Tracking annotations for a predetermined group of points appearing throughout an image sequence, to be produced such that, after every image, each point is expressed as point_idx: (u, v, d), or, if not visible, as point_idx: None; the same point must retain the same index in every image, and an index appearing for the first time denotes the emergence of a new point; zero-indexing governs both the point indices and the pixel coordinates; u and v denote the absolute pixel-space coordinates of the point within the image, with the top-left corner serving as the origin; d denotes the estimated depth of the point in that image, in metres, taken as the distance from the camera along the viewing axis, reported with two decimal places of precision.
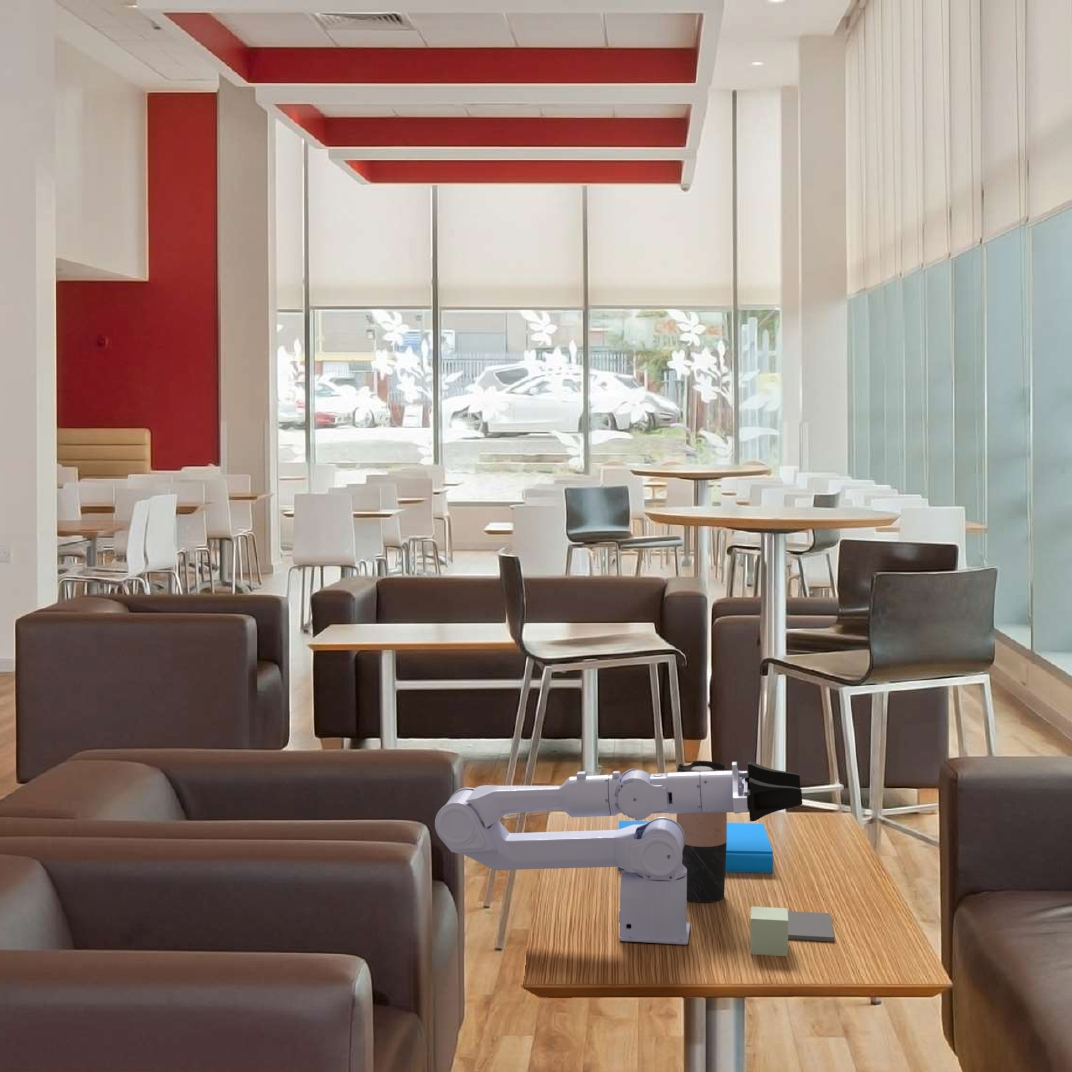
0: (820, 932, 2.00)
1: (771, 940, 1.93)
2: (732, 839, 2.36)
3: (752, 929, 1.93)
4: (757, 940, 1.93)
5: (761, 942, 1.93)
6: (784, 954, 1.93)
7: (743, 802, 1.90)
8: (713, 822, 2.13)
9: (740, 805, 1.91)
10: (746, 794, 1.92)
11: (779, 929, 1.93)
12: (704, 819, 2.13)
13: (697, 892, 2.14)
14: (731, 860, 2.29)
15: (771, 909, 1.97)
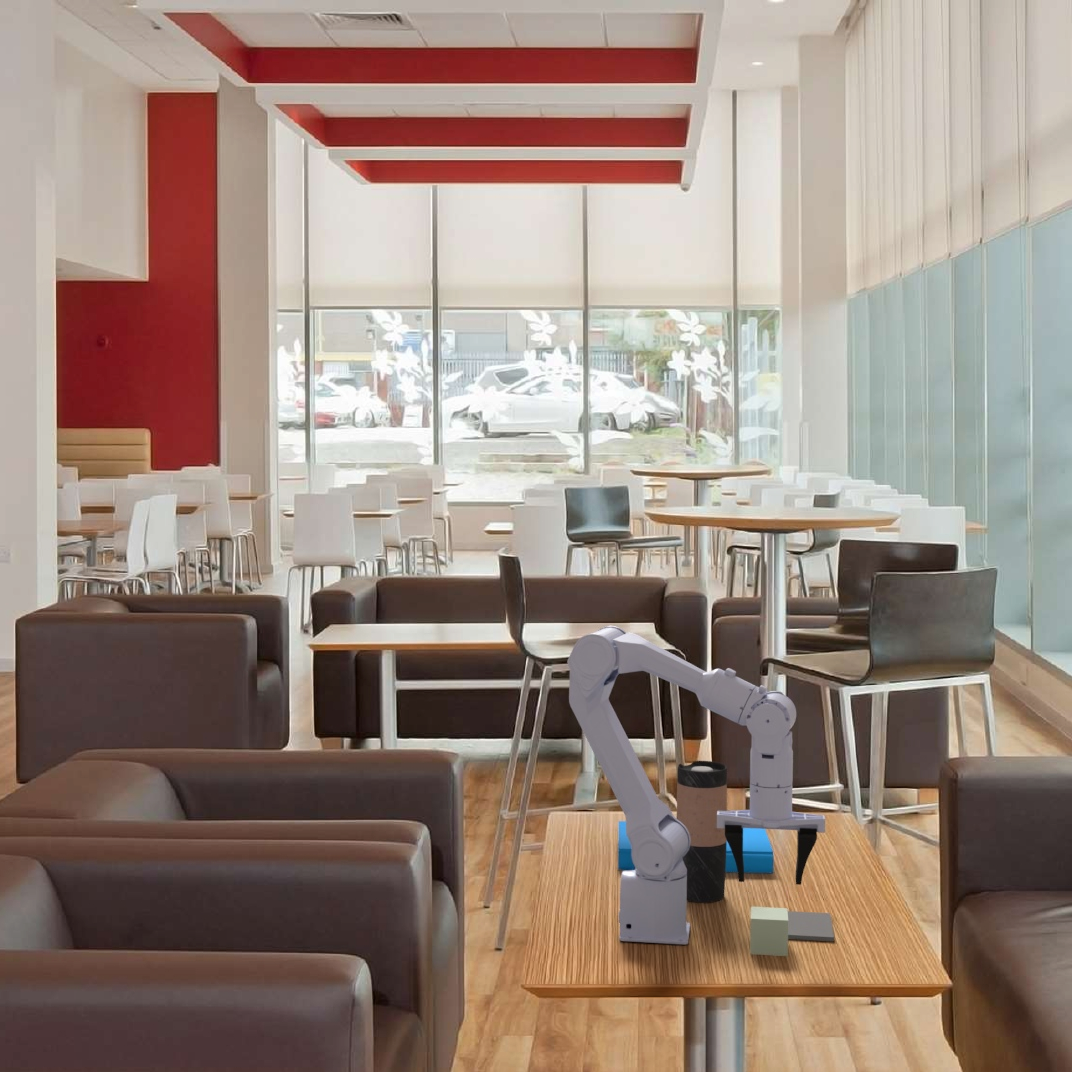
0: (820, 932, 2.00)
1: (771, 940, 1.93)
2: None
3: (752, 929, 1.93)
4: (757, 940, 1.93)
5: (761, 942, 1.93)
6: (784, 954, 1.93)
7: None
8: (713, 822, 2.13)
9: None
10: (732, 828, 1.94)
11: (779, 929, 1.93)
12: (704, 819, 2.13)
13: (697, 892, 2.14)
14: (731, 860, 2.29)
15: (771, 909, 1.97)
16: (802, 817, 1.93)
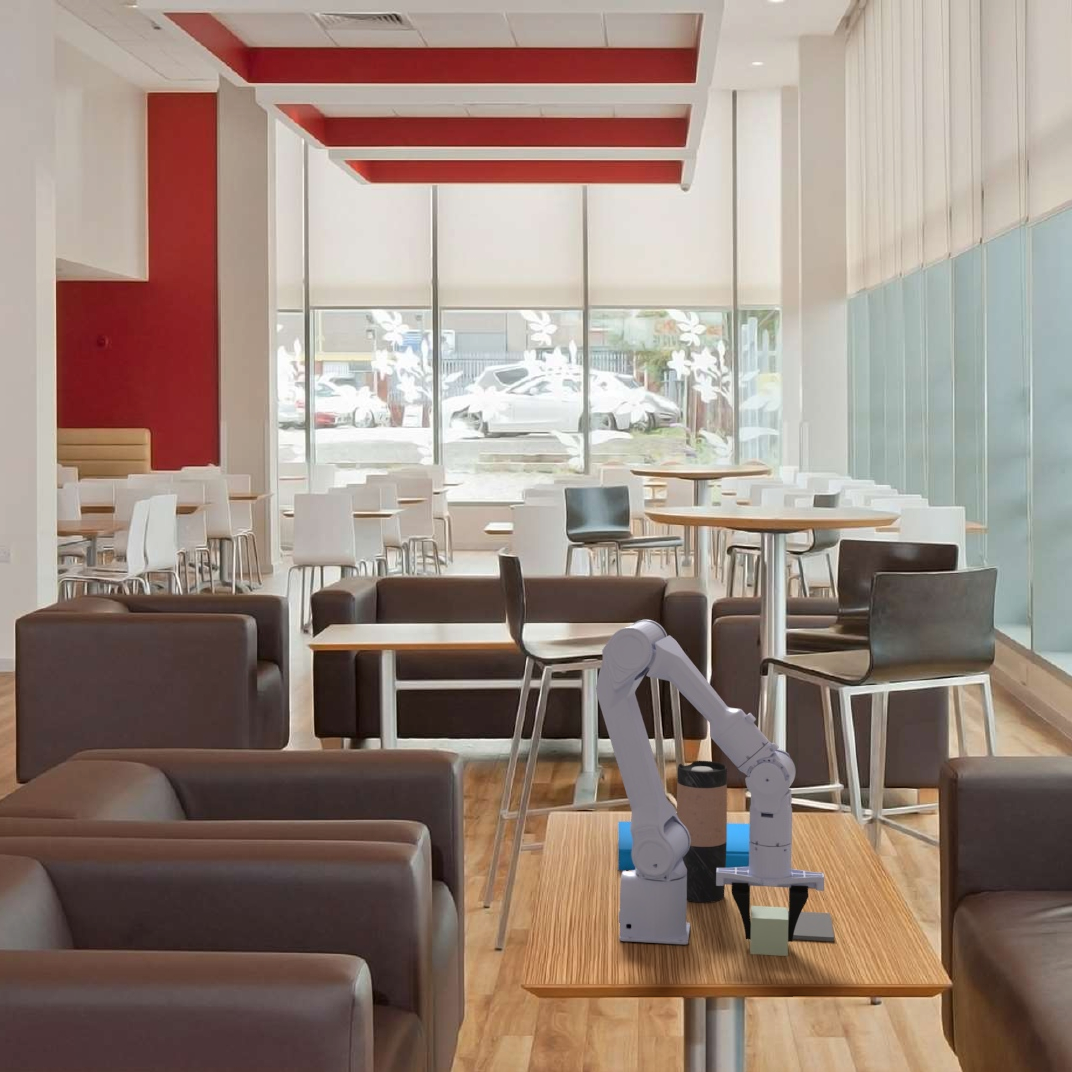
0: (820, 932, 2.00)
1: (772, 939, 1.93)
2: (732, 840, 2.35)
3: (752, 928, 1.93)
4: (757, 940, 1.93)
5: (761, 941, 1.93)
6: (784, 953, 1.93)
7: (716, 880, 1.96)
8: (713, 822, 2.13)
9: None
10: (732, 885, 1.95)
11: (779, 928, 1.93)
12: (704, 819, 2.13)
13: (697, 892, 2.14)
14: (731, 861, 2.29)
15: (771, 908, 1.97)
16: (801, 875, 1.94)
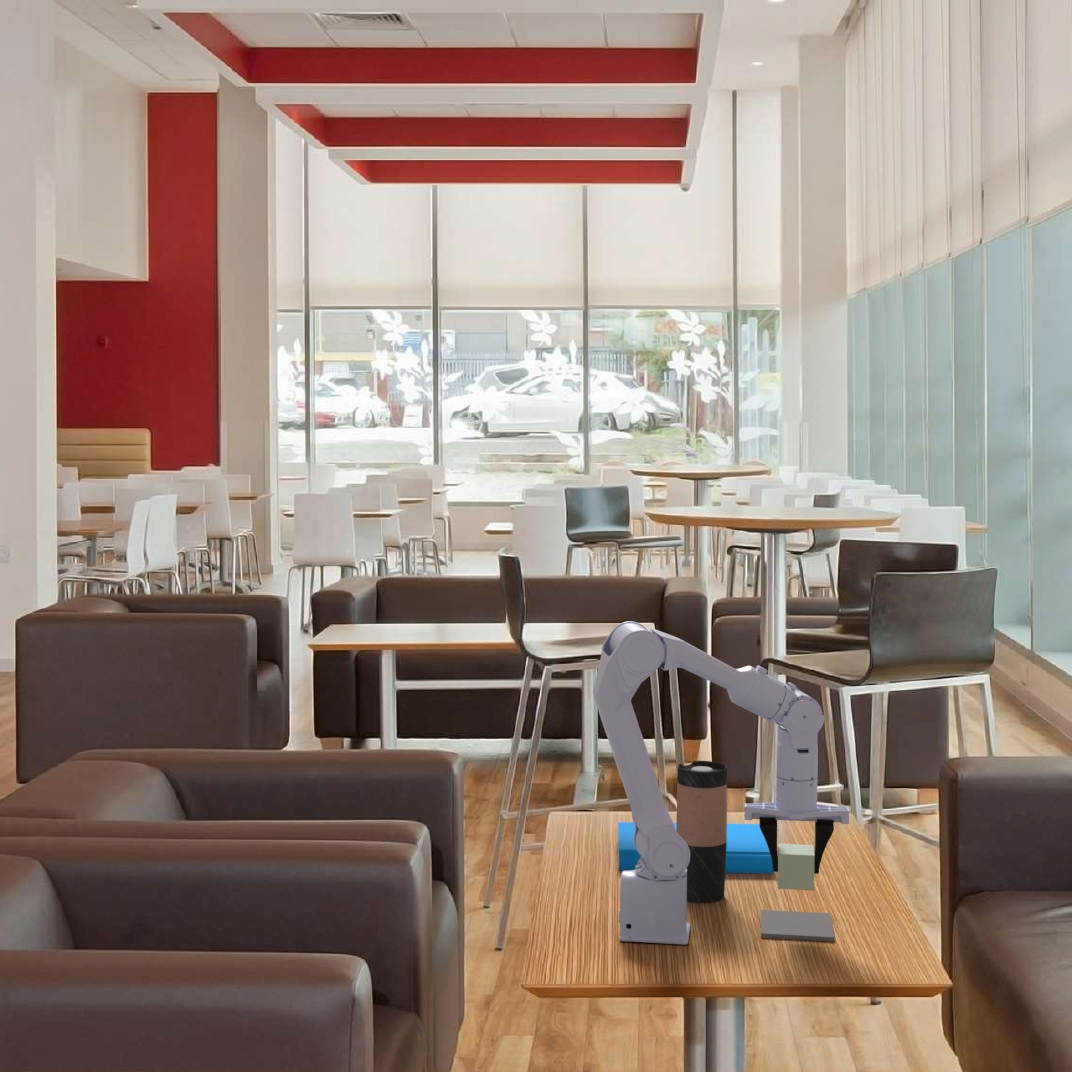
0: (820, 932, 2.00)
1: (798, 874, 2.00)
2: (732, 840, 2.35)
3: (779, 864, 2.00)
4: (784, 875, 2.00)
5: (788, 877, 2.00)
6: (810, 888, 2.00)
7: None
8: (713, 822, 2.13)
9: None
10: (760, 819, 2.02)
11: (806, 863, 1.99)
12: (704, 819, 2.13)
13: (697, 892, 2.14)
14: (731, 861, 2.29)
15: (798, 846, 2.04)
16: (827, 809, 2.01)
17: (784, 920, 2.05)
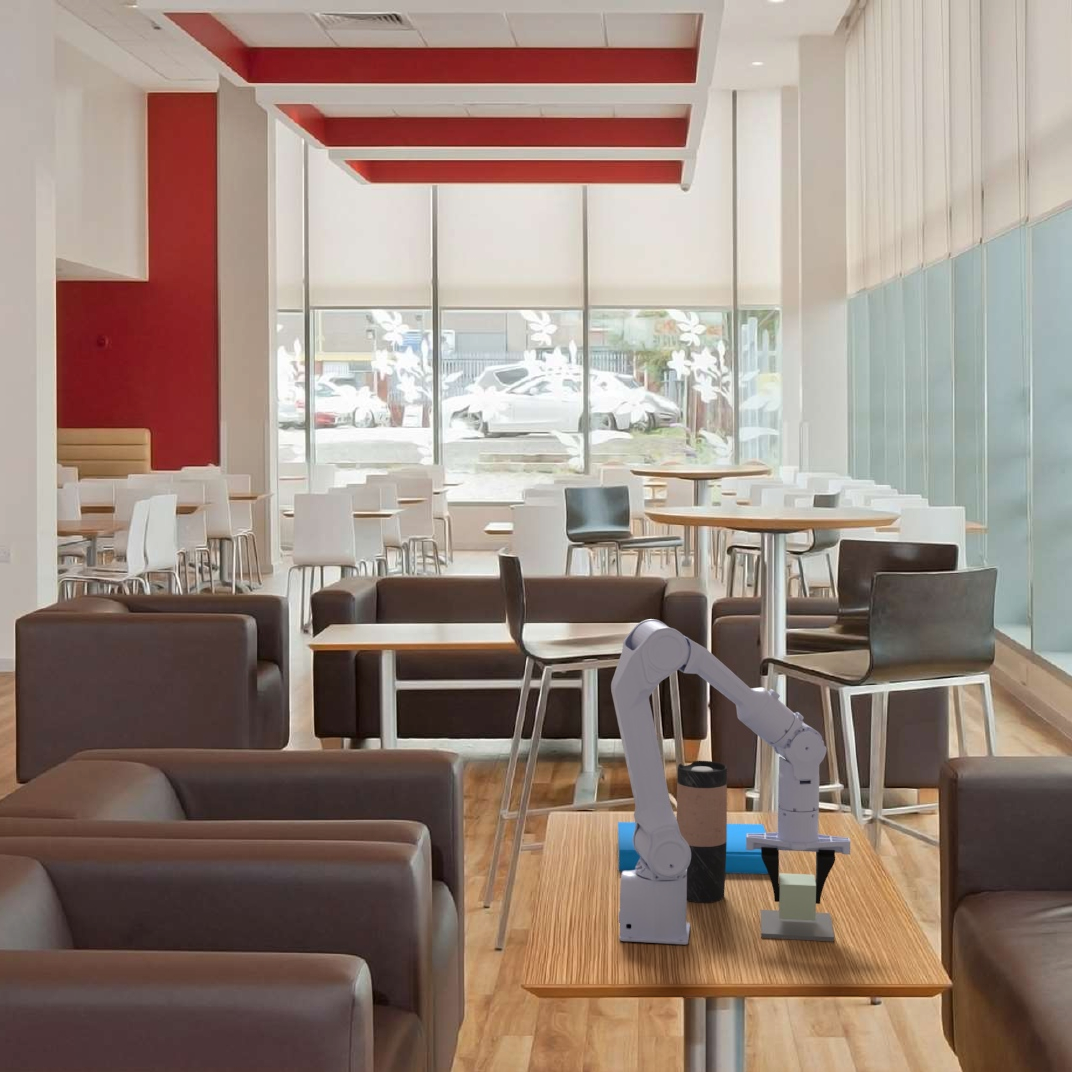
0: (820, 932, 2.00)
1: (800, 904, 2.01)
2: (732, 840, 2.35)
3: (781, 894, 2.01)
4: (786, 905, 2.01)
5: (790, 907, 2.01)
6: (812, 918, 2.01)
7: (746, 845, 2.04)
8: (713, 822, 2.13)
9: None
10: (761, 850, 2.03)
11: (807, 894, 2.01)
12: (704, 819, 2.13)
13: (697, 892, 2.14)
14: (732, 861, 2.28)
15: (799, 875, 2.05)
16: (828, 839, 2.02)
17: (784, 920, 2.05)
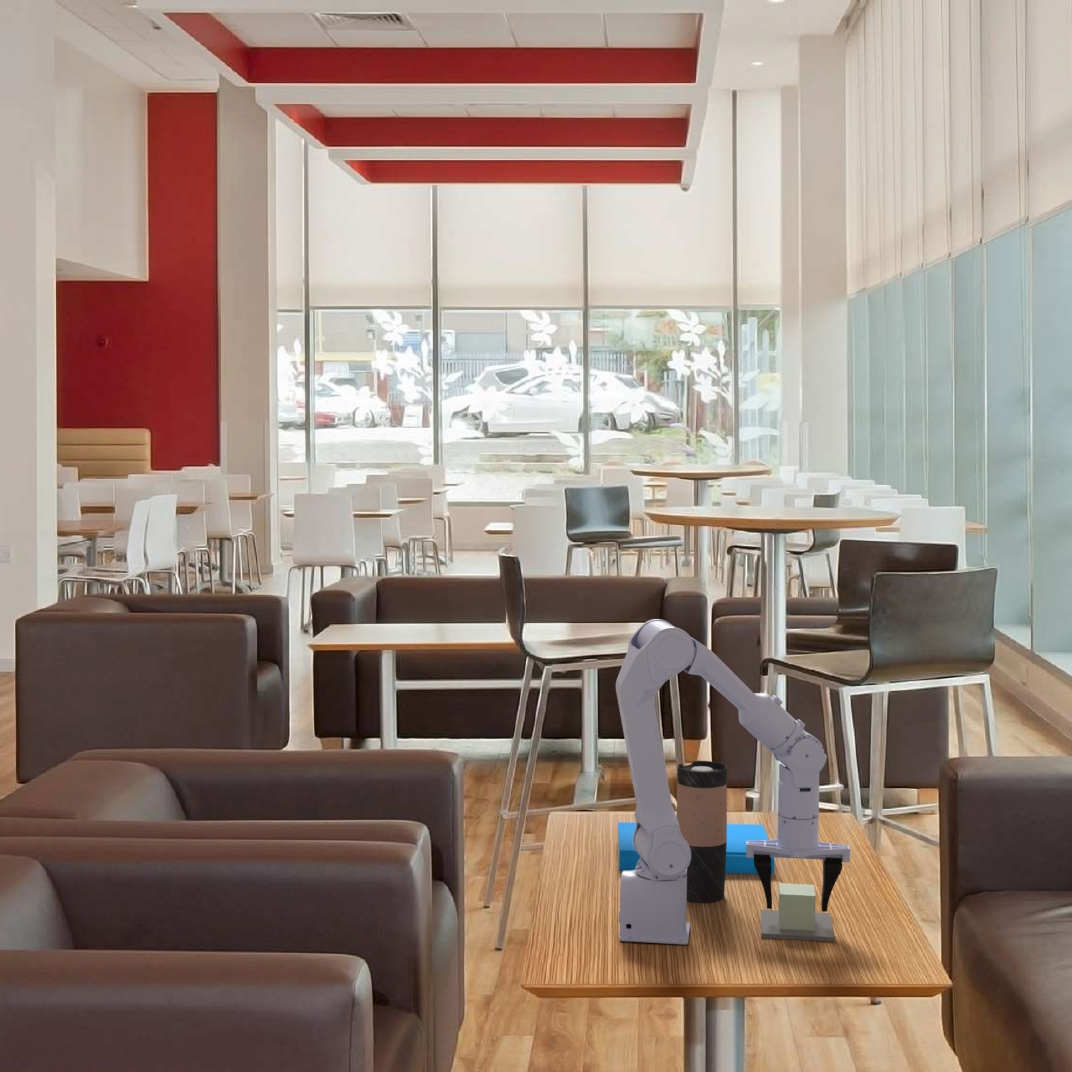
0: (820, 932, 2.00)
1: (799, 915, 2.01)
2: (733, 840, 2.35)
3: (781, 904, 2.01)
4: (786, 915, 2.01)
5: (789, 917, 2.01)
6: (811, 928, 2.01)
7: None
8: (713, 822, 2.13)
9: None
10: (761, 857, 2.03)
11: (807, 904, 2.01)
12: (704, 819, 2.13)
13: (697, 892, 2.14)
14: (732, 861, 2.28)
15: (798, 885, 2.05)
16: (828, 847, 2.02)
17: None
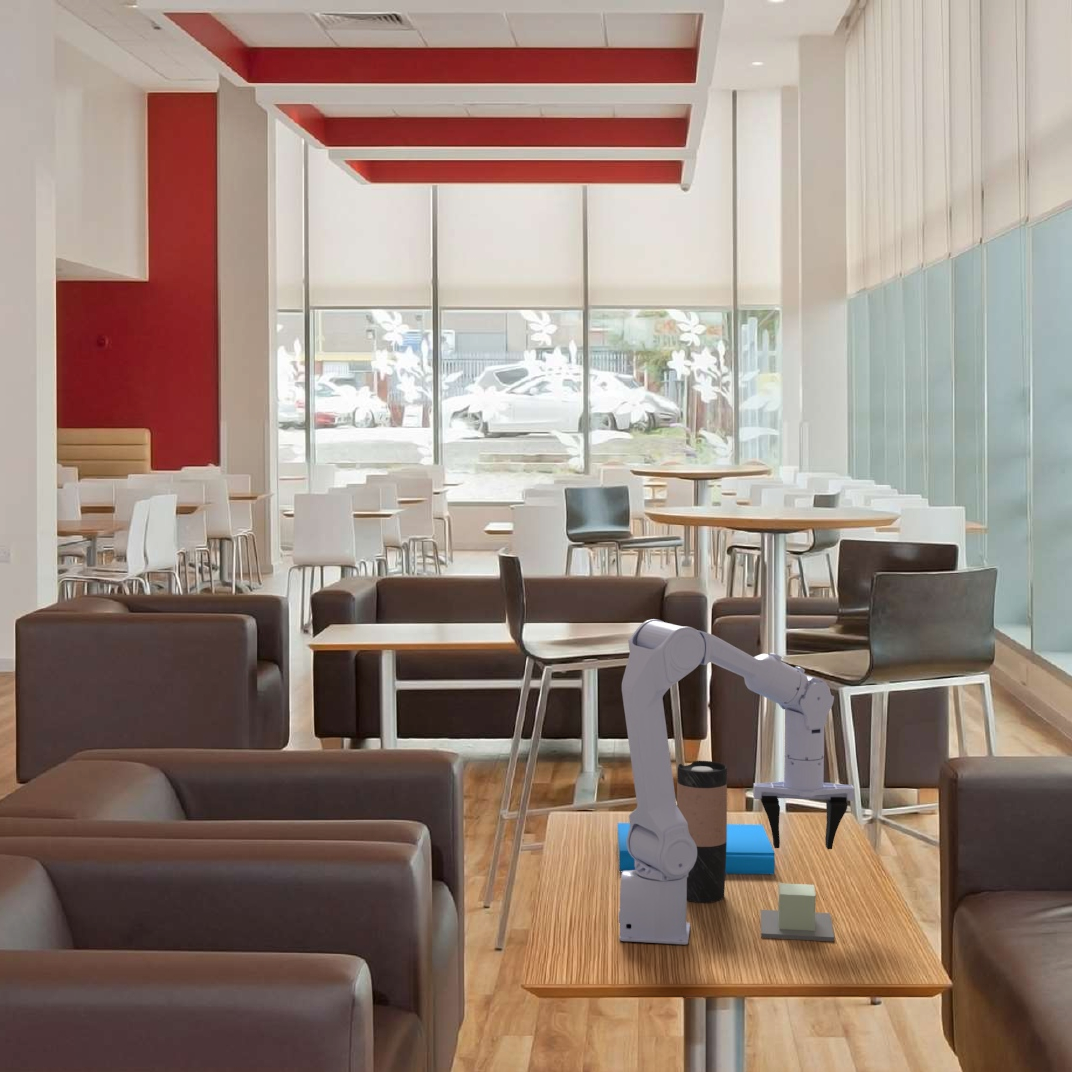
0: (820, 932, 2.00)
1: (799, 915, 2.01)
2: (733, 841, 2.35)
3: (781, 904, 2.01)
4: (786, 915, 2.01)
5: (789, 917, 2.01)
6: (811, 928, 2.01)
7: (754, 794, 2.10)
8: (713, 822, 2.13)
9: None
10: (769, 798, 2.10)
11: (807, 904, 2.01)
12: (704, 819, 2.13)
13: (697, 892, 2.14)
14: (732, 862, 2.28)
15: (798, 885, 2.05)
16: (832, 787, 2.10)
17: None
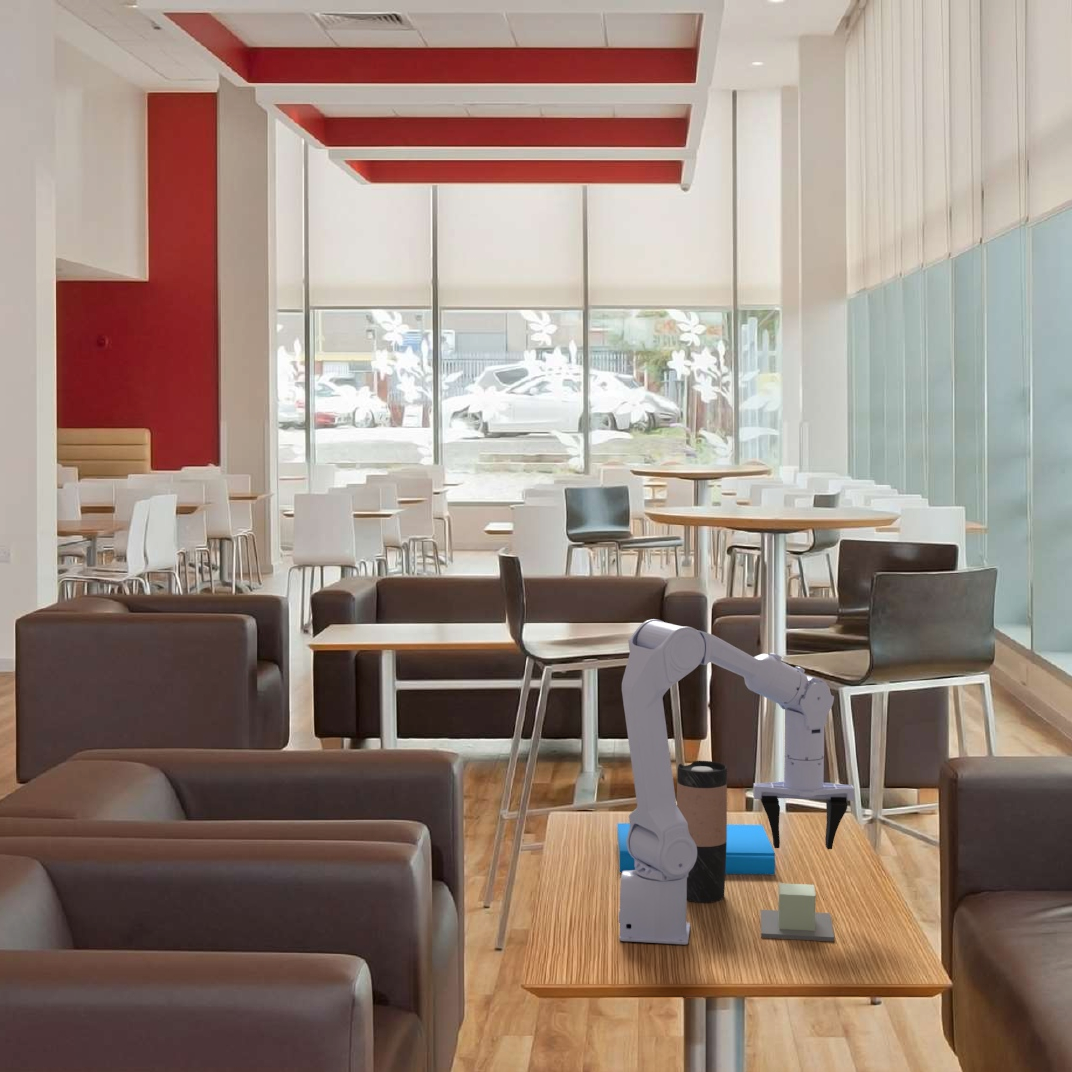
0: (820, 932, 2.00)
1: (799, 915, 2.01)
2: (733, 841, 2.35)
3: (781, 904, 2.01)
4: (786, 915, 2.01)
5: (789, 917, 2.01)
6: (811, 928, 2.01)
7: (754, 794, 2.10)
8: (713, 822, 2.13)
9: None
10: (769, 798, 2.10)
11: (807, 904, 2.01)
12: (704, 819, 2.13)
13: (697, 892, 2.14)
14: (733, 862, 2.28)
15: (798, 885, 2.05)
16: (832, 787, 2.10)
17: None
